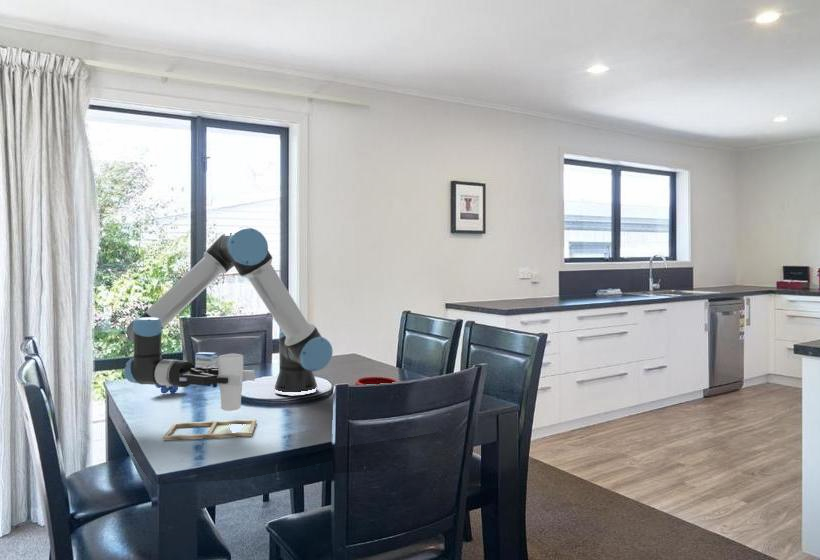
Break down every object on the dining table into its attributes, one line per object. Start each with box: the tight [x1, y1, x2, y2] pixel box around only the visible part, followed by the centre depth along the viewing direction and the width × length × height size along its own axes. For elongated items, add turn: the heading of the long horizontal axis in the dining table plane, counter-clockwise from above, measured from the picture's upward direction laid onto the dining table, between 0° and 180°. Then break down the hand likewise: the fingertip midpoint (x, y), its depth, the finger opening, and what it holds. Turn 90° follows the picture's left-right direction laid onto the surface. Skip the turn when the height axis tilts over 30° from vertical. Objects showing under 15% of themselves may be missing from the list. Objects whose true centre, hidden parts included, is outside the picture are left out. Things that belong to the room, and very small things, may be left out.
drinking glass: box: [218, 353, 244, 412], centre depth 160 cm, size 7×7×15 cm
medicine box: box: [195, 351, 219, 368], centre depth 240 cm, size 8×4×9 cm, turn 80°
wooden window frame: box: [162, 418, 258, 441], centre depth 160 cm, size 23×13×1 cm, turn 100°
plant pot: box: [354, 376, 399, 386], centre depth 172 cm, size 13×13×12 cm
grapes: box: [154, 385, 179, 394], centre depth 205 cm, size 12×7×12 cm, turn 126°
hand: (246, 378), depth 159 cm, fingers closed on drinking glass, 7 cm apart
